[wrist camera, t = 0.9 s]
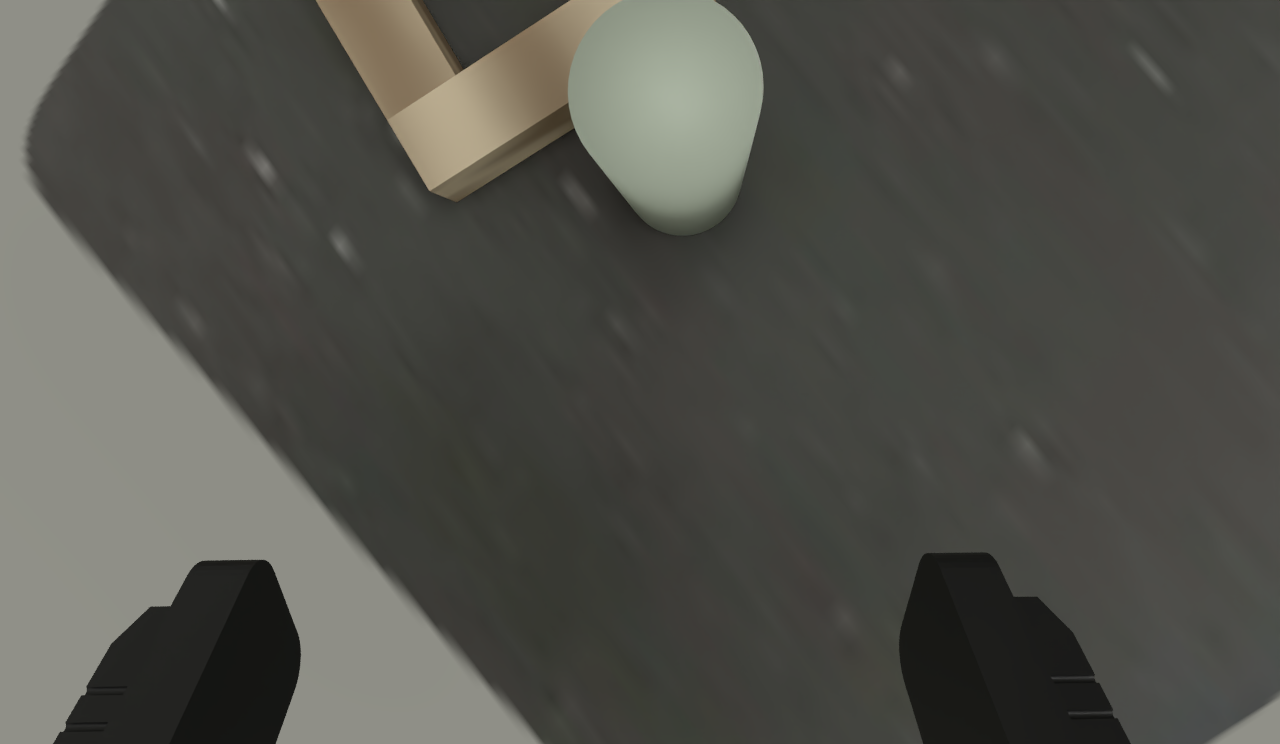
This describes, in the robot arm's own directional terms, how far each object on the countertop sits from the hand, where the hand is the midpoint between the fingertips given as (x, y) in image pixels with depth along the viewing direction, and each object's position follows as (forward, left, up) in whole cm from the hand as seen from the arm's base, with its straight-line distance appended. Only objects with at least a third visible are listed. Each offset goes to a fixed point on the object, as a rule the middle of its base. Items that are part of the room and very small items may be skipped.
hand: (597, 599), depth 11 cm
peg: (-5, -7, -20) cm, 22 cm away
